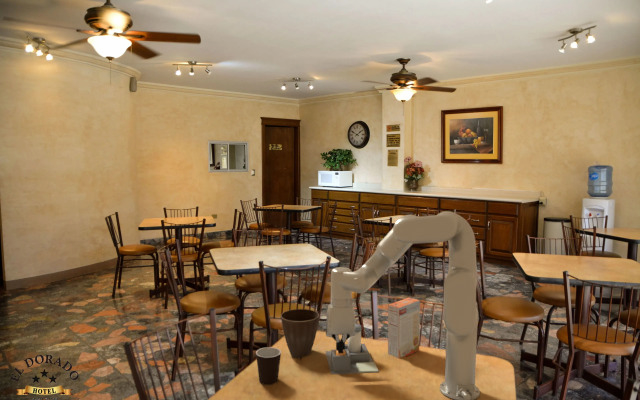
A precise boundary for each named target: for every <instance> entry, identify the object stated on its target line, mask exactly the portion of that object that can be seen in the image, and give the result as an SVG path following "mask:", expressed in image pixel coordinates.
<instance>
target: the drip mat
mask: <svg viewBox="0 0 640 400" xmlns="http://www.w3.org/2000/svg"><path fill="white" fill-rule="evenodd" d="M356 366H357V369H358V371H359V373H358V374H362V373H361V372H379V369H378V367H377V365H376V363H375V361H373V362H364V363H356Z"/></svg>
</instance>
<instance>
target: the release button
mask: <svg viewBox="0 0 640 400" xmlns="http://www.w3.org/2000/svg"><path fill="white" fill-rule="evenodd" d="M339 355H346V351H344V350H343V353H338V350H337V351H336V356H339Z"/></svg>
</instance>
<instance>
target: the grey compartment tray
mask: <svg viewBox="0 0 640 400" xmlns="http://www.w3.org/2000/svg"><path fill="white" fill-rule="evenodd" d="M336 351H337V350H336V349H331V350H327V351H326V350H325V356H326V360H327V363H328V367H329V371H330V374H331V375H349V374H355V375H356V374H373V373H374V374H375V373H377V374H378V373H379V371H378V372H361V373H359V371H358V369H357V366H356V363H364V362H374V360H373V358H372V356H371V354H370V352H369V350H368V348H367V345H366V344H365V343H361V353H349V351H348V343H347V344H346V343H345V350H344V351H346V355H339V356H336Z"/></svg>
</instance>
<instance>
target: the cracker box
mask: <svg viewBox="0 0 640 400" xmlns="http://www.w3.org/2000/svg"><path fill="white" fill-rule="evenodd" d="M387 307H388V308H387V355H389V356H392V357H394V358H397V359H400V358H403V357H408V356H410V355H412V354H414V353H416V352H418V351H420V328H421V327H420V322H421V321H420V317H421V315H420V314H421V309H420V308H421V301H420V299H416V298H412V297H406V298H403V299H401V300H398V301H395V302H393V303H389V304H387Z"/></svg>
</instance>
